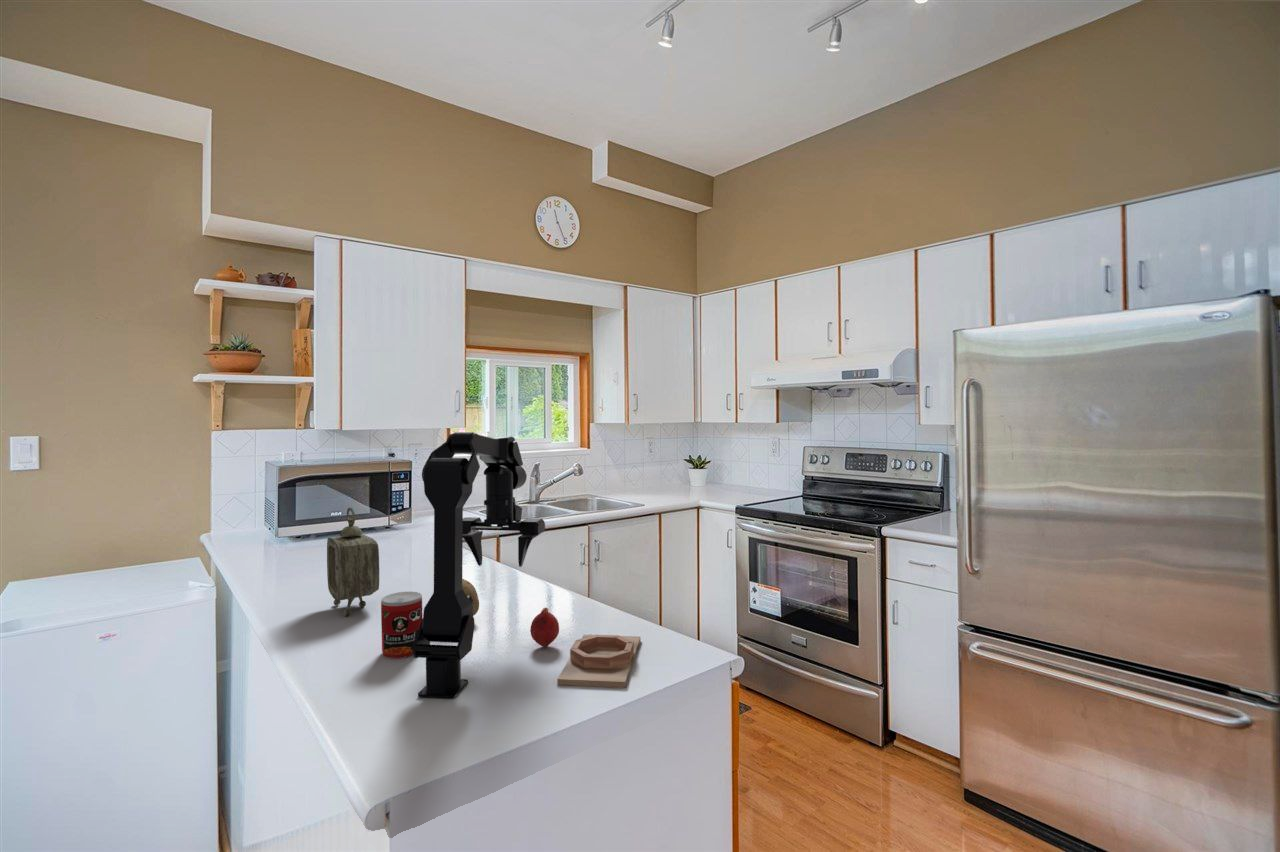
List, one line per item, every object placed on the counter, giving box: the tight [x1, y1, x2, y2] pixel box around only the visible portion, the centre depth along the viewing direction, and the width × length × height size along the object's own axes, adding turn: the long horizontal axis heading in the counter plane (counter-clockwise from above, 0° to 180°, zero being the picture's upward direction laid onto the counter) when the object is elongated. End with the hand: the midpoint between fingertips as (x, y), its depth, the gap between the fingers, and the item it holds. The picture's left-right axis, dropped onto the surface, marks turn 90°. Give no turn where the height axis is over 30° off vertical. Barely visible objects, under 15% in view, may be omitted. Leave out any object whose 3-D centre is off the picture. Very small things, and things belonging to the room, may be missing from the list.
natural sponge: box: [462, 578, 480, 617], centre depth 141 cm, size 9×9×10 cm
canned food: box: [380, 591, 423, 659], centre depth 124 cm, size 8×8×11 cm
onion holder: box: [556, 634, 642, 689], centre depth 118 cm, size 22×12×3 cm, turn 173°
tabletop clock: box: [326, 507, 380, 617], centre depth 152 cm, size 14×9×25 cm, turn 37°
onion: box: [529, 606, 560, 648], centre depth 125 cm, size 6×6×8 cm
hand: (500, 565), depth 134 cm, fingers open, 9 cm apart
